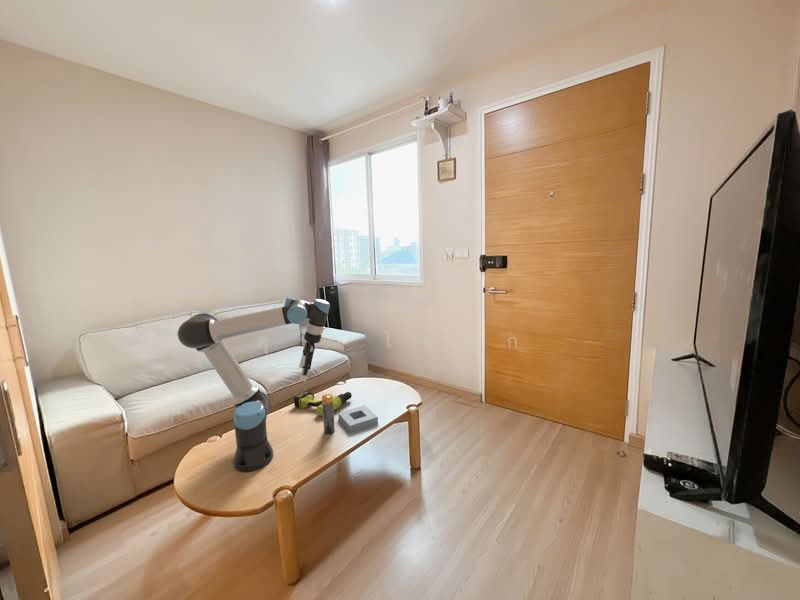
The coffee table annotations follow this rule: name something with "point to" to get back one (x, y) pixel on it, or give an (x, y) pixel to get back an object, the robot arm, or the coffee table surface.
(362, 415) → the slate holder
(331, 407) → the chuck key rod
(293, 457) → the coffee table surface
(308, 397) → the cordless drill
